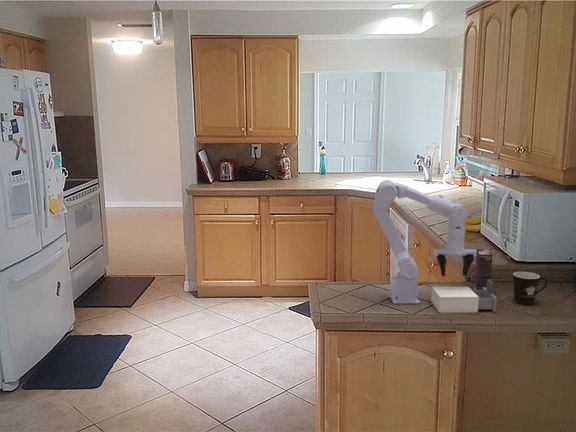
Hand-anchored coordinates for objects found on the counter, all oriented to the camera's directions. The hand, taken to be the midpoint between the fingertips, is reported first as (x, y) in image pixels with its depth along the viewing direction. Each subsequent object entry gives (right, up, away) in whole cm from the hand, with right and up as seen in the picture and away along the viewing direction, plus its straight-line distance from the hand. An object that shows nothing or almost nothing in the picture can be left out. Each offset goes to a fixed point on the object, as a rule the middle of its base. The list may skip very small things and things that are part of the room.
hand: (453, 275), depth 194 cm
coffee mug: (+27, -10, +1) cm, 29 cm away
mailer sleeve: (-1, -11, -3) cm, 11 cm away
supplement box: (+14, -8, +12) cm, 20 cm away
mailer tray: (+5, -10, -3) cm, 12 cm away
